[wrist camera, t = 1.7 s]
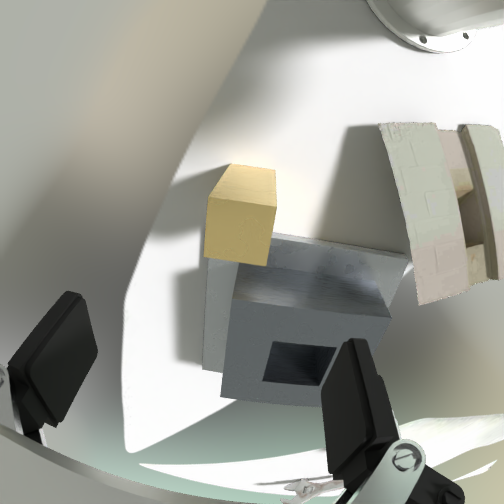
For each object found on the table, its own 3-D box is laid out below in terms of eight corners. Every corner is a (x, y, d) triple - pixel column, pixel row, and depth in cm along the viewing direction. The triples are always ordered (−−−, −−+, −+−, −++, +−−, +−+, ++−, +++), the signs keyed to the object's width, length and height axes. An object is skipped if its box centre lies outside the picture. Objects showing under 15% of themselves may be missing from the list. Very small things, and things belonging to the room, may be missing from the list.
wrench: (391, 454, 58) (279, 483, 60) (392, 451, 57) (278, 481, 60) (399, 478, 51) (282, 509, 53) (400, 476, 50) (281, 507, 52)
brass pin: (230, 163, 26) (208, 196, 17) (275, 170, 26) (276, 206, 17) (225, 205, 28) (203, 256, 19) (268, 211, 28) (265, 266, 19)
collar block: (213, 223, 29) (196, 260, 23) (404, 254, 29) (432, 293, 23) (203, 362, 38) (193, 405, 32) (347, 378, 38) (355, 420, 32)
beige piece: (348, 171, 30) (386, 316, 26) (374, 120, 21) (435, 307, 17) (460, 163, 30) (498, 279, 26) (497, 126, 21) (549, 262, 18)
